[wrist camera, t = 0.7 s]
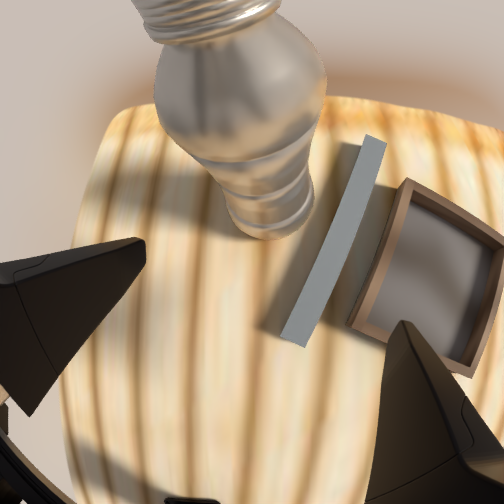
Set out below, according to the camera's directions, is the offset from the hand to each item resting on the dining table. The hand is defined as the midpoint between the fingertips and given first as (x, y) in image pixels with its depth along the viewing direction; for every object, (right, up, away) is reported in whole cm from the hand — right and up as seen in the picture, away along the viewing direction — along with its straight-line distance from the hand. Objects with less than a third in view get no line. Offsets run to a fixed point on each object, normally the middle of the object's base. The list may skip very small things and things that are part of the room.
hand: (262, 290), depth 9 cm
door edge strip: (+7, +3, +13) cm, 15 cm away
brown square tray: (+15, -1, +11) cm, 19 cm away
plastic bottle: (+1, +5, +15) cm, 16 cm away
